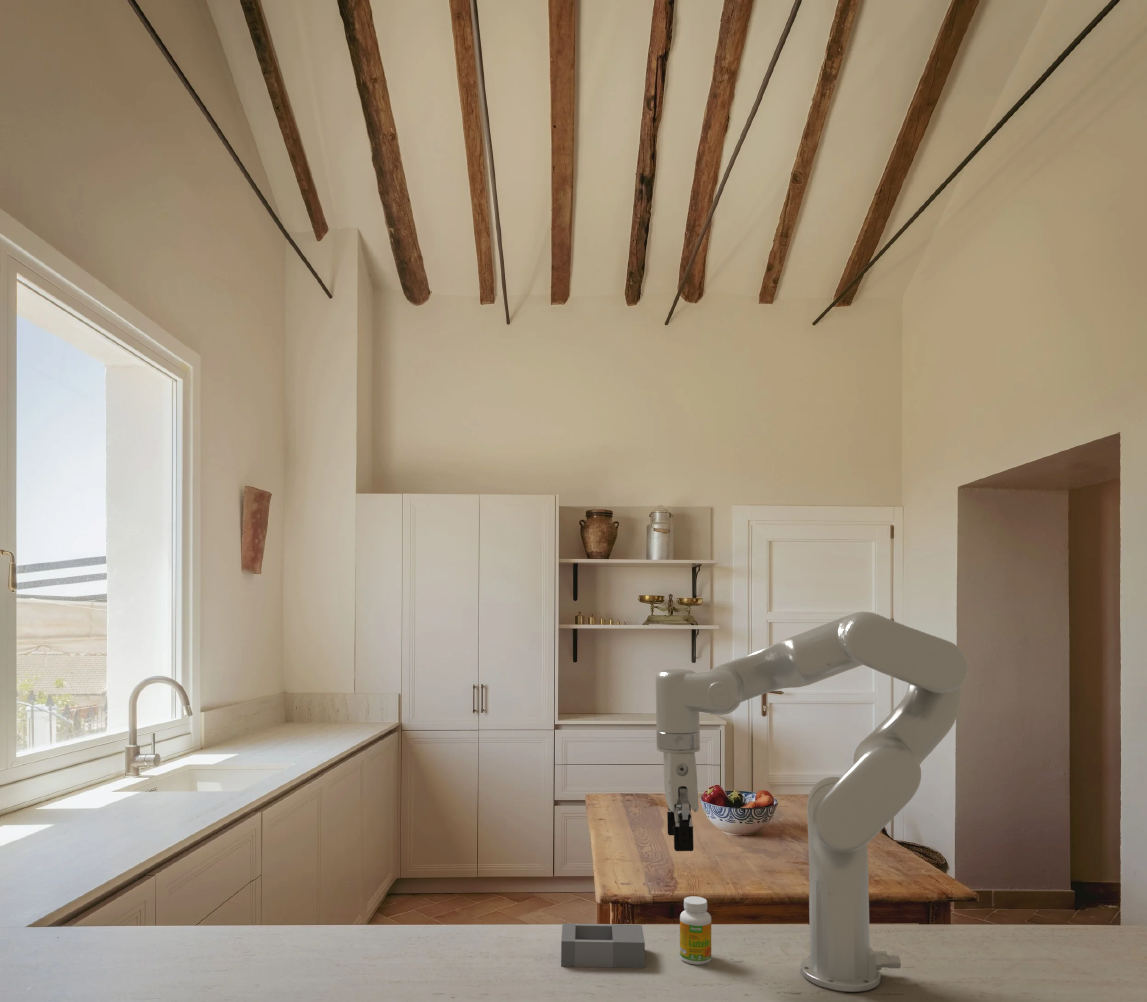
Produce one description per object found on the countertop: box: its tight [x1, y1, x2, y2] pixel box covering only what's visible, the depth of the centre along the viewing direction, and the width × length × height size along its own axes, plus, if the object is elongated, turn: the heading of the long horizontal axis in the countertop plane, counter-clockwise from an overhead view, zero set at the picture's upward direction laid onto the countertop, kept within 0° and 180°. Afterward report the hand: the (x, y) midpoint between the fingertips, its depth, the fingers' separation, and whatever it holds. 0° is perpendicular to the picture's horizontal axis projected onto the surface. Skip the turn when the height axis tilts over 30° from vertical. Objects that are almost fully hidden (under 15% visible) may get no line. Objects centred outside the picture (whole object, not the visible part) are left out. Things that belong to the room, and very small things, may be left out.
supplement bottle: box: [679, 895, 712, 966], centre depth 153 cm, size 5×5×10 cm
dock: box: [560, 923, 646, 969], centre depth 153 cm, size 14×8×4 cm, turn 89°
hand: (680, 842), depth 154 cm, fingers open, 9 cm apart
